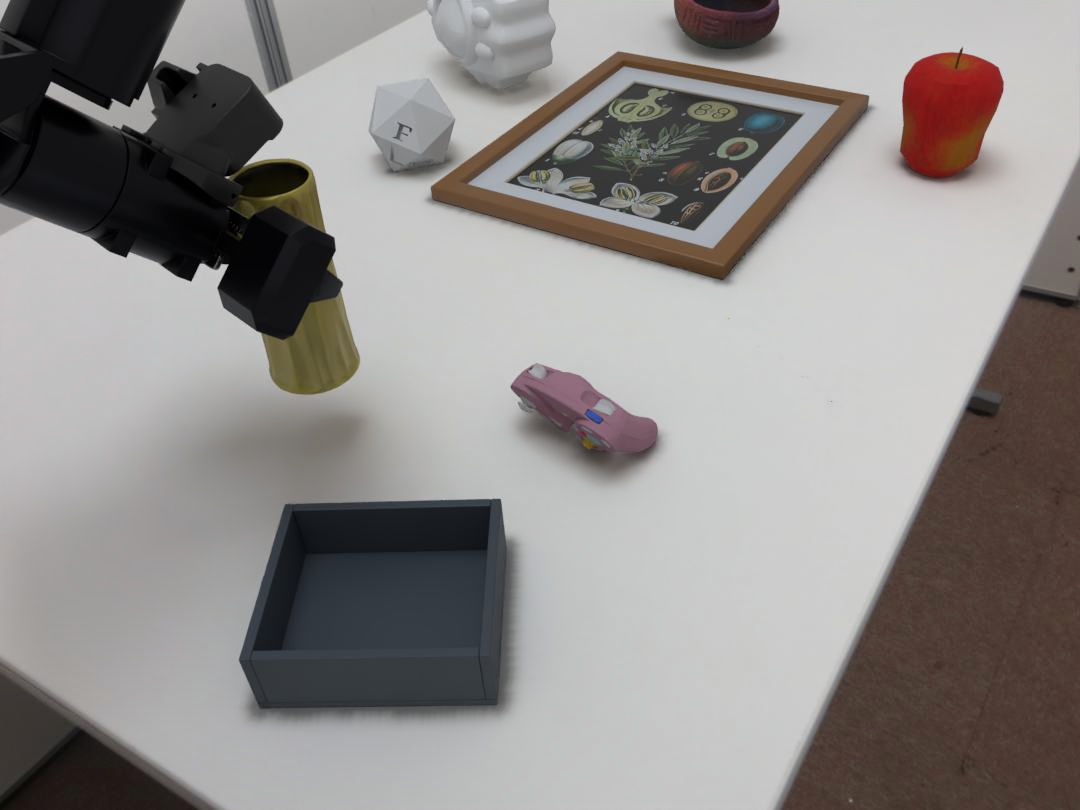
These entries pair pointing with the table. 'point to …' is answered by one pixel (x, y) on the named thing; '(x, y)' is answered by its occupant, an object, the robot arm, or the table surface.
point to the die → (411, 124)
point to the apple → (948, 111)
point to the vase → (324, 332)
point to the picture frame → (658, 159)
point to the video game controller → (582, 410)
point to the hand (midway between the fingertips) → (312, 273)
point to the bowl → (726, 21)
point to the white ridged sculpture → (495, 37)
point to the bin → (380, 606)
